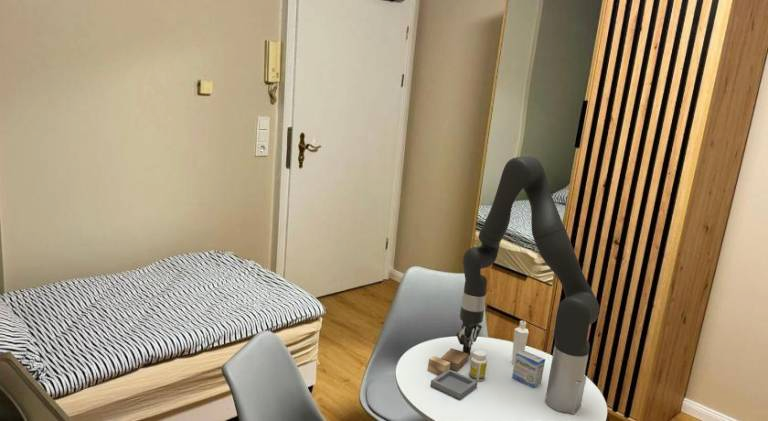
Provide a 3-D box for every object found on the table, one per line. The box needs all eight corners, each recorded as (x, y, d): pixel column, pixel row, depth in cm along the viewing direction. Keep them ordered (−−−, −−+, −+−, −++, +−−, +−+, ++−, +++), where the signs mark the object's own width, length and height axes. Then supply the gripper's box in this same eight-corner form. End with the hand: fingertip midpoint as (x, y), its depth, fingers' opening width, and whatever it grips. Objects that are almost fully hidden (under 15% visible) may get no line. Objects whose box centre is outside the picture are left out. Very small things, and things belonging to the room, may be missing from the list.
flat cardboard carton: (467, 361, 178) (468, 353, 178) (457, 372, 170) (458, 363, 170) (450, 356, 181) (451, 348, 180) (439, 366, 173) (440, 358, 173)
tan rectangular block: (449, 374, 168) (450, 362, 168) (443, 377, 166) (445, 365, 165) (432, 367, 172) (434, 355, 171) (427, 370, 170) (428, 358, 169)
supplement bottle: (483, 374, 170) (487, 350, 169) (485, 382, 166) (488, 357, 164) (468, 372, 171) (472, 348, 169) (469, 380, 166) (472, 355, 164)
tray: (476, 387, 162) (477, 381, 162) (459, 400, 154) (460, 394, 154) (448, 375, 168) (448, 369, 168) (430, 386, 160) (431, 380, 160)
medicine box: (511, 378, 170) (515, 352, 168) (518, 374, 173) (522, 348, 171) (534, 389, 165) (538, 362, 163) (541, 384, 168) (545, 358, 166)
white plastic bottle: (508, 360, 182) (515, 318, 179) (521, 362, 181) (528, 320, 178) (509, 366, 177) (516, 323, 174) (523, 368, 177) (530, 325, 174)
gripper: (472, 315, 169) (465, 366, 173) (492, 304, 179) (485, 353, 183) (452, 307, 174) (445, 357, 177) (472, 298, 184) (466, 345, 188)
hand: (466, 355), depth 180 cm, fingers closed
